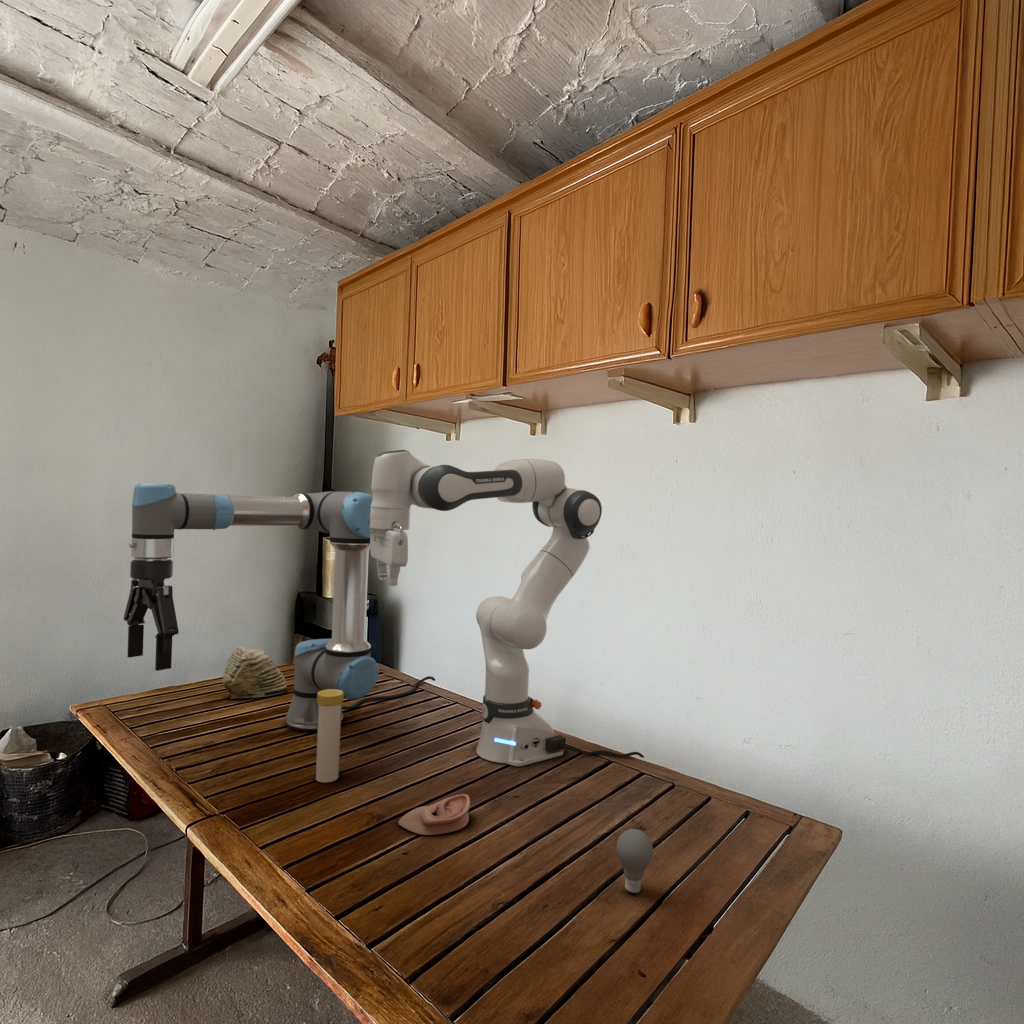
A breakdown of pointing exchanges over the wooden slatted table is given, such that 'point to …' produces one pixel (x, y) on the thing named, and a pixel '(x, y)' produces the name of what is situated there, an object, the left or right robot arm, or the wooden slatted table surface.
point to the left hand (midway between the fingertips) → (148, 662)
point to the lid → (330, 697)
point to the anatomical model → (438, 816)
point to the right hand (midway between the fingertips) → (387, 582)
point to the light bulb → (634, 857)
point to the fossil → (252, 674)
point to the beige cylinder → (328, 743)
